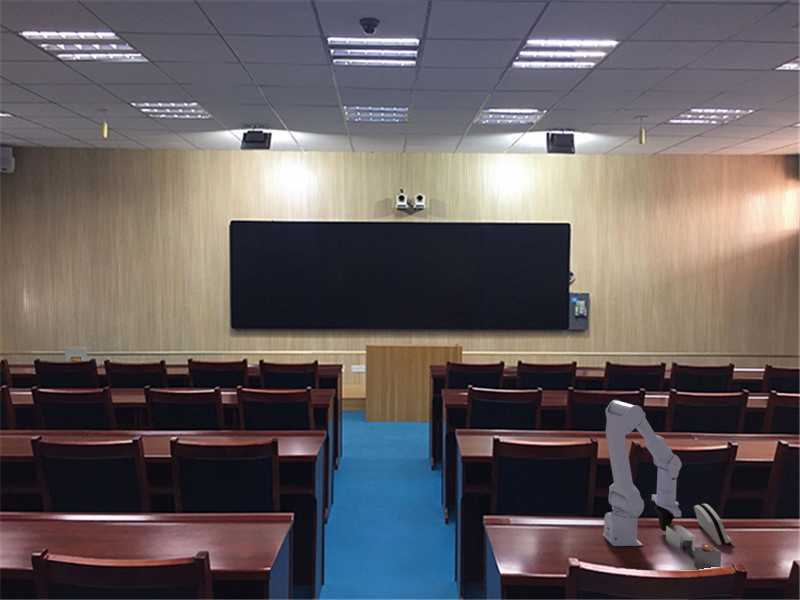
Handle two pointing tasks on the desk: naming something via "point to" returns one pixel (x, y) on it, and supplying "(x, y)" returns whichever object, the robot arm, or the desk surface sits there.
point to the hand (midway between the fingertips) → (664, 530)
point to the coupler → (706, 556)
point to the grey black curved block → (712, 524)
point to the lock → (680, 537)
